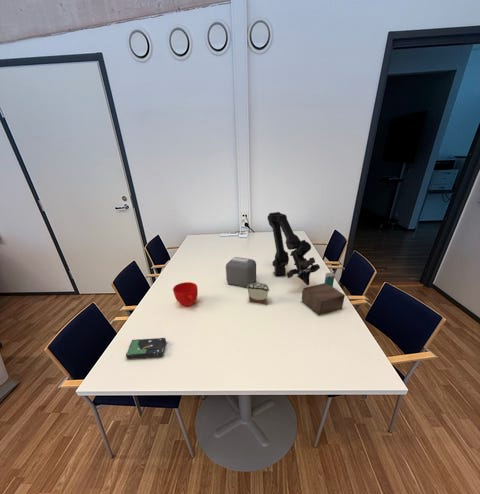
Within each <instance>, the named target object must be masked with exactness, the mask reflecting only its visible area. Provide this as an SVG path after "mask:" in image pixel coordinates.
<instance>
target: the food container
mask: <svg viewBox="0 0 480 494" xmlns="http://www.w3.org/2000/svg"><path fill="white" fill-rule="evenodd" d="M246 290H247V293H248V301H249V303H250V304H258V305H265V306H266V305H267V302H268V295H269V292H270V287H269V285H268V284H267V283H265V282H264V283H263V282H253V283H252V284H249V285H248V287H246Z"/></svg>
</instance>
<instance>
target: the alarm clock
mask: <svg viewBox="0 0 480 494" xmlns="http://www.w3.org/2000/svg"><path fill="white" fill-rule="evenodd" d="M225 274H226V275H225V277H226V278H225V279H226V282H227V284H229V285H233V286H238V287H244V288H247V287H248V285H249V284H252V283H255V281H256V280H257V262H256V260H254V259H252V258H246V257H237V256H235V257H233V258H231V259H230V260H229V261H228V262H227V263H226V264H225Z"/></svg>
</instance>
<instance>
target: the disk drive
mask: <svg viewBox="0 0 480 494" xmlns="http://www.w3.org/2000/svg"><path fill="white" fill-rule="evenodd" d="M166 344H167V339H166V337H156V338H141V339H139V338H137V339H132V340H131V342H130V343H129V345H128V349H127V351H126V354H125V357H126V360H136V359H151V358H161V357H163V355H164V351H165V348H166Z"/></svg>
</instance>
